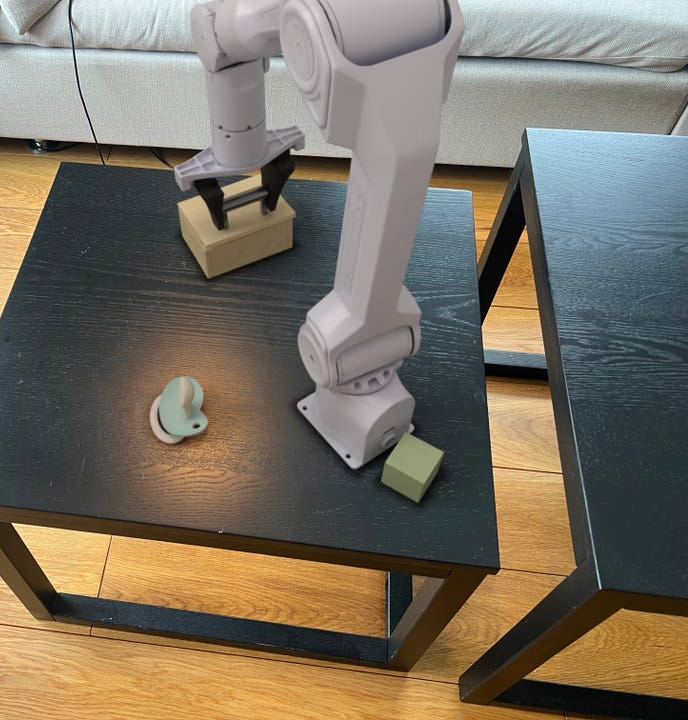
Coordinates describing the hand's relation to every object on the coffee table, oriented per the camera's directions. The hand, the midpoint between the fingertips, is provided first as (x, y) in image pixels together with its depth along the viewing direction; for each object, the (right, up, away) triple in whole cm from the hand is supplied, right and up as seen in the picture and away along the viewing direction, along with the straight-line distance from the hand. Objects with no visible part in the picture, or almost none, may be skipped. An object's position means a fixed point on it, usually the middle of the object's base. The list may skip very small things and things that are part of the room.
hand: (244, 215), depth 87 cm
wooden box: (-1, -2, +7) cm, 7 cm away
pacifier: (-7, -23, -8) cm, 25 cm away
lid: (-1, +1, +3) cm, 3 cm away
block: (+15, -28, -14) cm, 35 cm away
